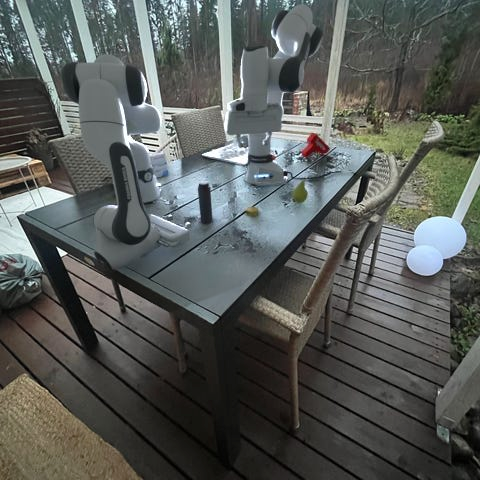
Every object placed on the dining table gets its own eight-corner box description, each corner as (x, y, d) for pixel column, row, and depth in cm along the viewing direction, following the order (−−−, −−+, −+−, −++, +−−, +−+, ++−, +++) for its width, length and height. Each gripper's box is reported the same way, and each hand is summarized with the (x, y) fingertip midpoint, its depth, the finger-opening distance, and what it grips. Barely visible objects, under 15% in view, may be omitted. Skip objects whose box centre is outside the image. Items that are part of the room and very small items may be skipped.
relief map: (243, 165, 166) (243, 156, 164) (202, 156, 184) (201, 148, 181) (267, 155, 185) (267, 147, 182) (227, 147, 202) (227, 140, 200)
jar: (214, 221, 107) (212, 182, 98) (204, 225, 105) (201, 185, 96) (208, 217, 110) (205, 179, 101) (198, 220, 108) (194, 182, 99)
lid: (244, 210, 115) (244, 207, 114) (256, 209, 116) (256, 205, 115) (247, 216, 110) (247, 212, 109) (259, 215, 111) (259, 211, 110)
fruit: (288, 200, 123) (290, 174, 116) (302, 197, 125) (305, 172, 119) (296, 206, 118) (299, 179, 111) (310, 203, 120) (314, 177, 114)
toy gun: (302, 154, 174) (315, 133, 171) (298, 152, 177) (311, 132, 174) (316, 167, 185) (330, 148, 182) (312, 166, 188) (325, 147, 185)
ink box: (164, 172, 156) (160, 151, 150) (168, 174, 153) (165, 153, 147) (150, 176, 151) (146, 154, 145) (155, 178, 148) (151, 156, 142)
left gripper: (168, 239, 80) (201, 221, 89) (127, 219, 90) (160, 205, 99) (171, 256, 83) (202, 237, 92) (131, 235, 94) (163, 220, 103)
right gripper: (278, 101, 96) (276, 142, 103) (222, 104, 91) (224, 146, 98) (286, 103, 91) (283, 145, 98) (227, 106, 86) (229, 150, 93)
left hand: (180, 220), depth 96 cm, fingers open, 8 cm apart
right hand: (253, 146), depth 98 cm, fingers open, 8 cm apart
